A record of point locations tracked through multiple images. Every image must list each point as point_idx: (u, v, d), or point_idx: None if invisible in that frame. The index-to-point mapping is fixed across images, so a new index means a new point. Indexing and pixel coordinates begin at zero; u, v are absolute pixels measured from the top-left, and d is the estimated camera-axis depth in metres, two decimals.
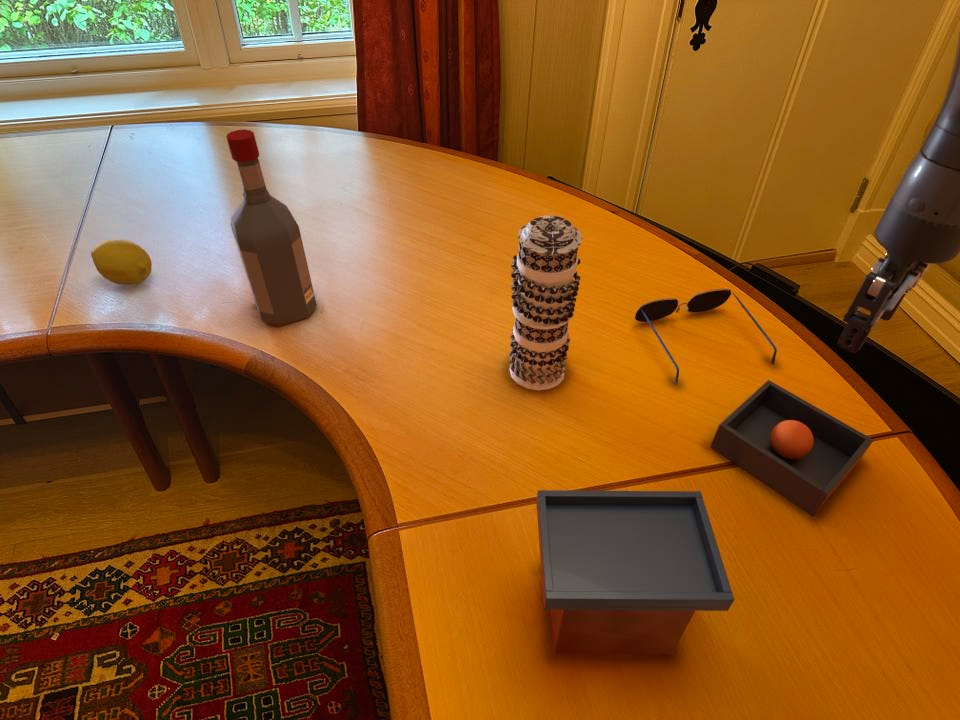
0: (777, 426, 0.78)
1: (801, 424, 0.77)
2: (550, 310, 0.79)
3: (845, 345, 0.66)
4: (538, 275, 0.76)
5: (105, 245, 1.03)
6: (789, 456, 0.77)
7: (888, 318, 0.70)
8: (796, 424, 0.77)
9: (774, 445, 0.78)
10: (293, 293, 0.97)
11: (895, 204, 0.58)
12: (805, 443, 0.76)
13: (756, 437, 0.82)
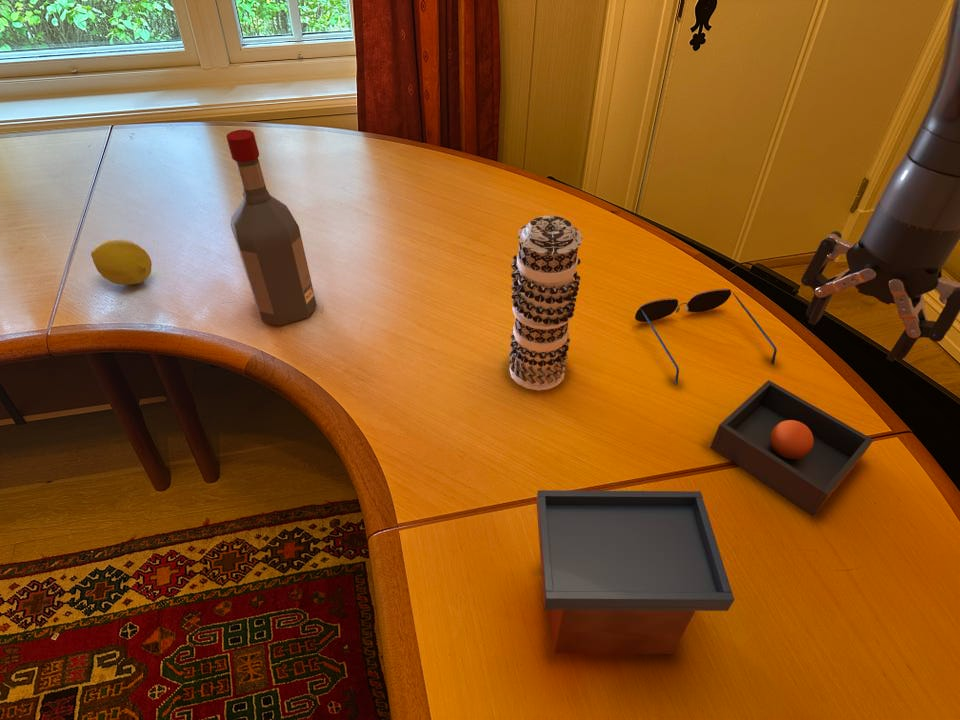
0: (777, 426, 0.78)
1: (801, 424, 0.77)
2: (550, 310, 0.79)
3: None
4: (538, 275, 0.76)
5: (105, 245, 1.03)
6: (789, 456, 0.77)
7: None
8: (796, 424, 0.77)
9: (774, 445, 0.78)
10: (293, 293, 0.97)
11: None
12: (805, 443, 0.76)
13: (756, 437, 0.82)
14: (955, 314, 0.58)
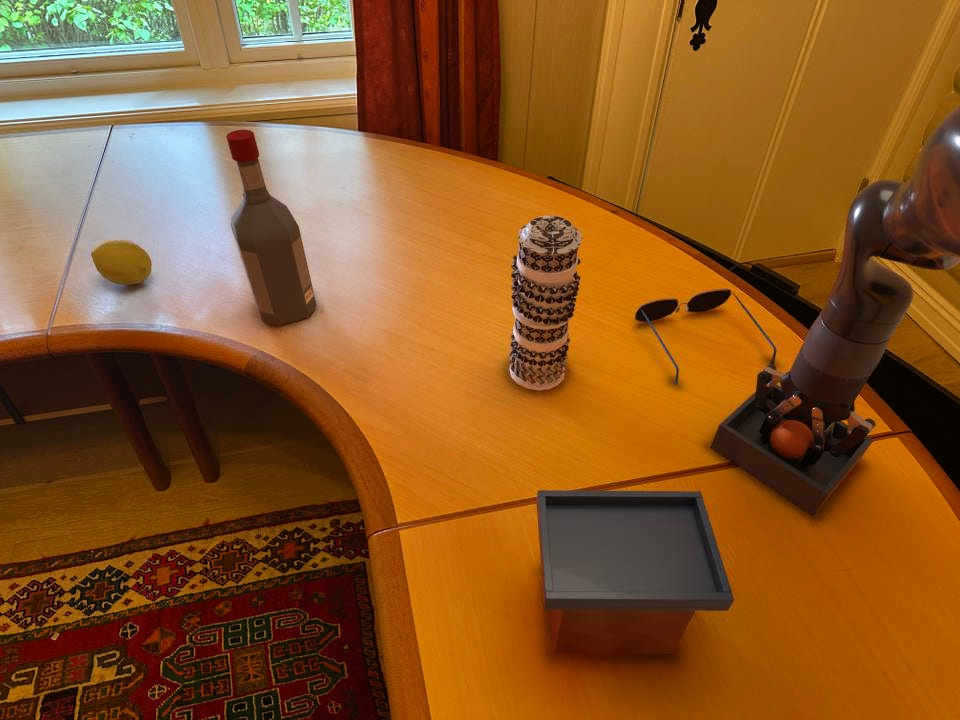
0: (777, 426, 0.78)
1: (801, 424, 0.77)
2: (550, 310, 0.79)
3: None
4: (538, 275, 0.76)
5: (105, 245, 1.03)
6: (789, 456, 0.77)
7: (801, 462, 0.78)
8: (796, 424, 0.77)
9: (774, 445, 0.78)
10: (293, 293, 0.97)
11: None
12: (805, 443, 0.76)
13: (756, 437, 0.82)
14: (854, 444, 0.70)
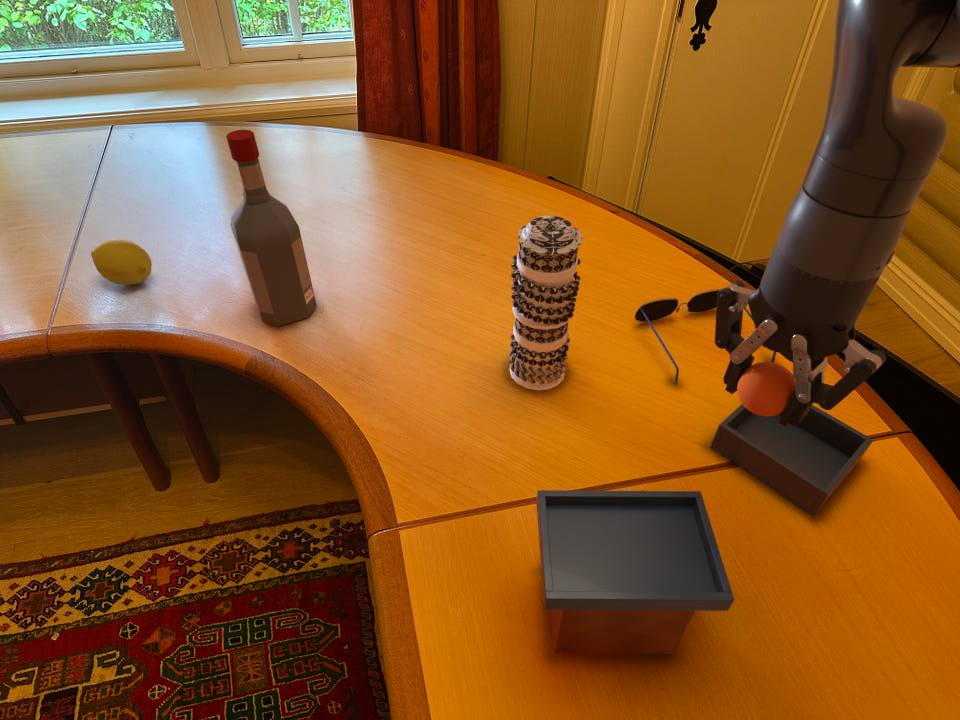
0: (746, 370, 0.55)
1: (780, 366, 0.54)
2: (550, 310, 0.79)
3: None
4: (538, 275, 0.76)
5: (105, 245, 1.03)
6: (762, 411, 0.54)
7: (779, 421, 0.55)
8: (772, 366, 0.54)
9: (742, 396, 0.55)
10: (293, 293, 0.97)
11: None
12: (785, 392, 0.53)
13: (756, 437, 0.82)
14: (853, 388, 0.47)
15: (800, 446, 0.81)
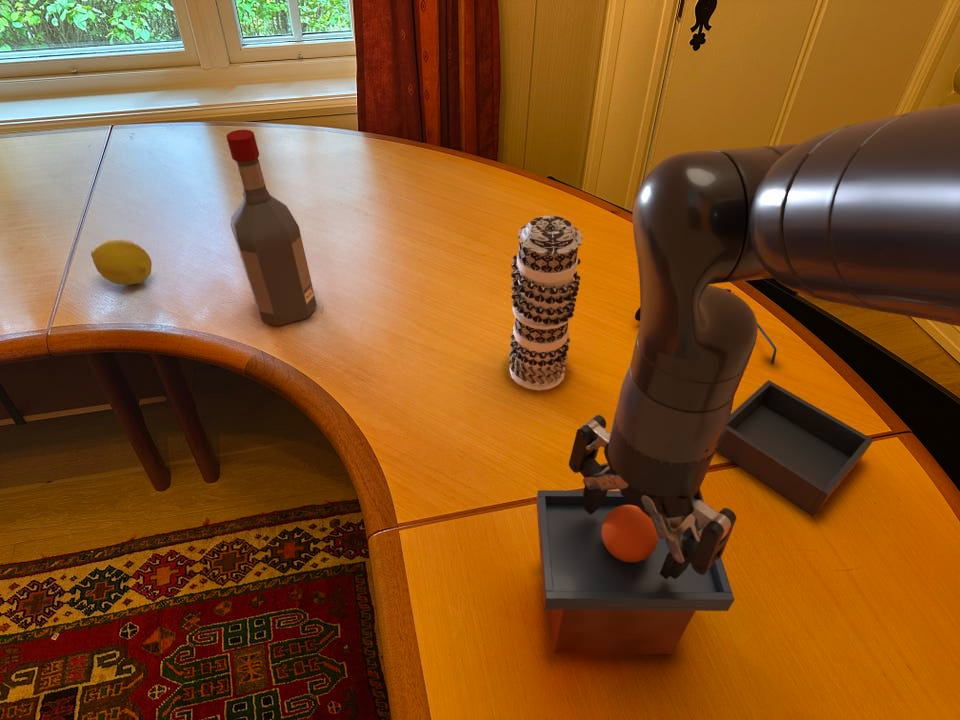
0: (609, 514, 0.55)
1: (639, 511, 0.54)
2: (550, 310, 0.79)
3: None
4: (538, 275, 0.76)
5: (105, 245, 1.03)
6: (623, 559, 0.53)
7: None
8: (631, 512, 0.53)
9: (604, 541, 0.54)
10: (293, 293, 0.97)
11: None
12: (642, 540, 0.52)
13: (756, 437, 0.82)
14: (711, 551, 0.45)
15: (800, 446, 0.81)
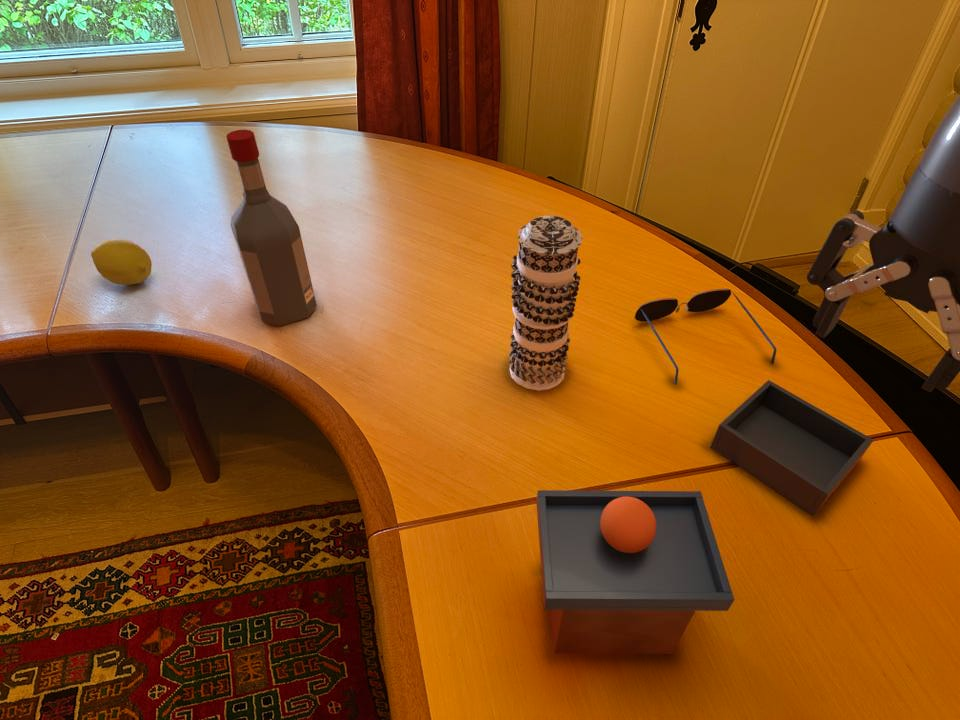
0: None
1: (635, 499, 0.55)
2: (550, 310, 0.79)
3: None
4: (538, 275, 0.76)
5: (105, 245, 1.03)
6: (623, 545, 0.53)
7: (923, 384, 0.47)
8: (627, 498, 0.55)
9: (603, 530, 0.55)
10: (293, 293, 0.97)
11: None
12: (639, 521, 0.53)
13: (756, 437, 0.82)
14: None
15: (800, 446, 0.81)
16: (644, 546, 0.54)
